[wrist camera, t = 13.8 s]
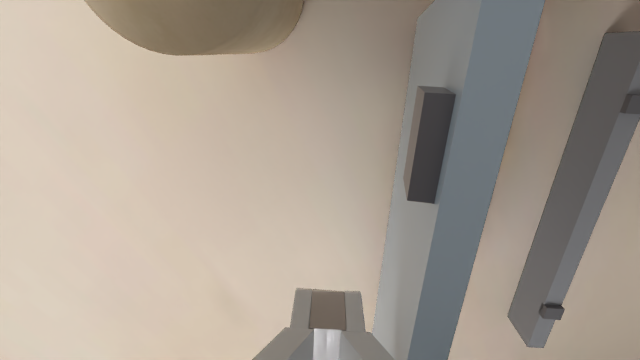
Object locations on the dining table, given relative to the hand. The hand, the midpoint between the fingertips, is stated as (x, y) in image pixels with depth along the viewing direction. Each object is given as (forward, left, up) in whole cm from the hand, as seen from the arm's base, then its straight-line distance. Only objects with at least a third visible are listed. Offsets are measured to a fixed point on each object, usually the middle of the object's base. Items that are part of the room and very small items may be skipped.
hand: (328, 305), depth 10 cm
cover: (0, -4, -2) cm, 4 cm away
